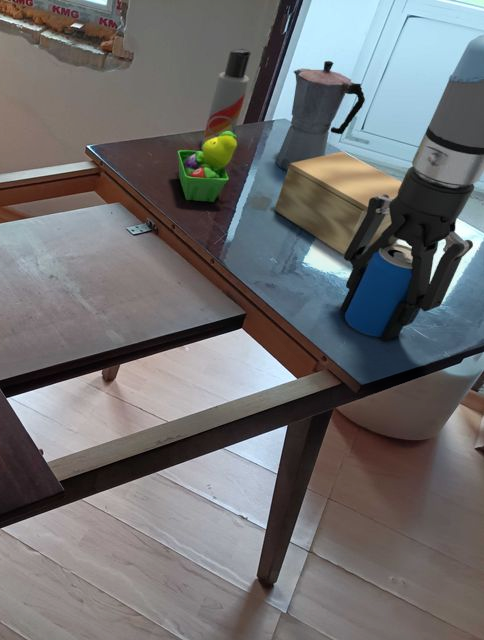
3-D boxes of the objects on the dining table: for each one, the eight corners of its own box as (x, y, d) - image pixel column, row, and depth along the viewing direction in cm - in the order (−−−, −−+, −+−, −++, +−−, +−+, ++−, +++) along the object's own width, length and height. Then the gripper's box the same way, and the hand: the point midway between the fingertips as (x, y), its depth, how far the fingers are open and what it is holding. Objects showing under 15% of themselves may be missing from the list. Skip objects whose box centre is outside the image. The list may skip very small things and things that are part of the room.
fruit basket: (171, 174, 131) (184, 116, 123) (217, 177, 131) (233, 120, 123) (179, 203, 122) (193, 143, 115) (229, 207, 122) (246, 147, 115)
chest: (393, 242, 116) (415, 195, 110) (341, 258, 111) (362, 210, 105) (323, 200, 126) (340, 155, 120) (272, 213, 121) (288, 167, 115)
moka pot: (281, 146, 143) (313, 47, 130) (347, 175, 135) (389, 72, 122) (254, 157, 139) (284, 55, 125) (321, 188, 130) (361, 82, 117)
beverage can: (368, 308, 101) (402, 238, 93) (400, 335, 96) (439, 264, 89) (333, 316, 99) (365, 246, 91) (365, 344, 95) (401, 272, 87)
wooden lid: (420, 196, 110) (422, 192, 109) (367, 212, 105) (369, 207, 104) (340, 155, 120) (342, 151, 120) (288, 167, 115) (290, 163, 115)
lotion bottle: (215, 159, 137) (243, 56, 124) (194, 149, 140) (219, 47, 127) (234, 153, 139) (263, 51, 126) (213, 143, 143) (239, 42, 130)
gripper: (357, 146, 87) (298, 293, 102) (498, 219, 75) (407, 373, 90) (396, 137, 90) (333, 281, 105) (538, 205, 78) (444, 357, 93)
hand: (367, 323), depth 97 cm, fingers closed on beverage can, 6 cm apart
